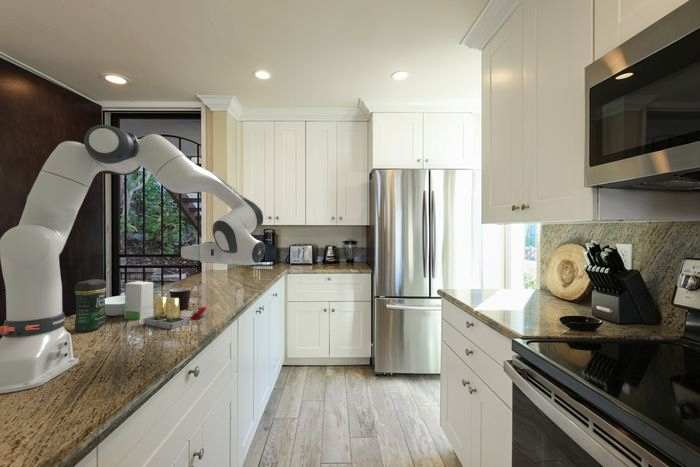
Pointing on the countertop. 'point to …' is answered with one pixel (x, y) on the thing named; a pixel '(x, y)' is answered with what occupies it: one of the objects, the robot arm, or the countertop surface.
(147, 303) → the skincare box
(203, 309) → the strawberry
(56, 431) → the countertop surface
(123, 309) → the serving bowl
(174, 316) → the billet
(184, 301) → the coffee mug
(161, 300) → the billet
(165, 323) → the grey tray
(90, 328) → the coffee jar
